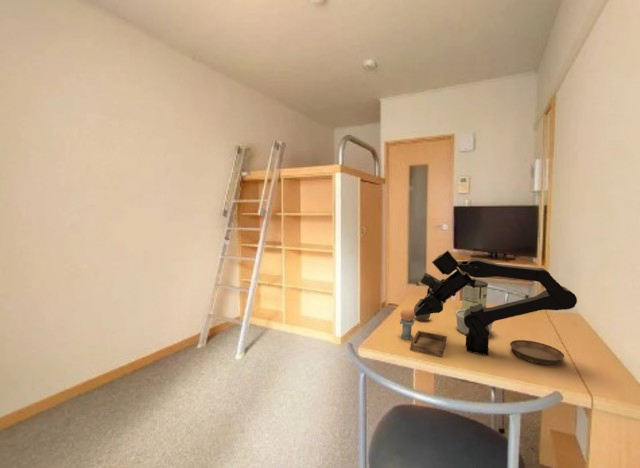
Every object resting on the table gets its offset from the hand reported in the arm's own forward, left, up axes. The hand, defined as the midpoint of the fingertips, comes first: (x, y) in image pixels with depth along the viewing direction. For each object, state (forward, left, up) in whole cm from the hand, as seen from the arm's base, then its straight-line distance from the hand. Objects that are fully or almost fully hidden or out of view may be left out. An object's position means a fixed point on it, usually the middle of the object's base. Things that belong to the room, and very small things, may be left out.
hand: (417, 310), depth 114 cm
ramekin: (-18, -19, -11) cm, 28 cm away
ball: (+3, 0, -2) cm, 4 cm away
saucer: (-37, -7, -11) cm, 39 cm away
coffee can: (-17, -45, -11) cm, 49 cm away
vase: (+2, -22, -11) cm, 24 cm away
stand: (+3, 0, -11) cm, 11 cm away
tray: (-5, +4, -10) cm, 12 cm away
